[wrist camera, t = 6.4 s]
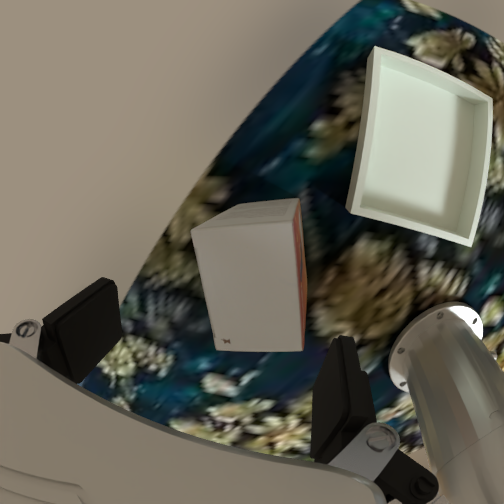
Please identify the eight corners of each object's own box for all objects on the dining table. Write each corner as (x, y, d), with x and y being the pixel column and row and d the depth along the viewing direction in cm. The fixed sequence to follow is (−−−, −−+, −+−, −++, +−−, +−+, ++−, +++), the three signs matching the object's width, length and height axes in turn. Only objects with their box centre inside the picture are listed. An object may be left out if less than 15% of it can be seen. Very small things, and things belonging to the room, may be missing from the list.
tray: (476, 103, 16) (492, 98, 13) (456, 238, 20) (471, 247, 18) (367, 58, 17) (374, 45, 15) (345, 207, 22) (350, 213, 19)
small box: (307, 283, 25) (304, 355, 15) (249, 285, 26) (215, 354, 16) (300, 196, 23) (295, 219, 13) (237, 202, 24) (187, 229, 14)
